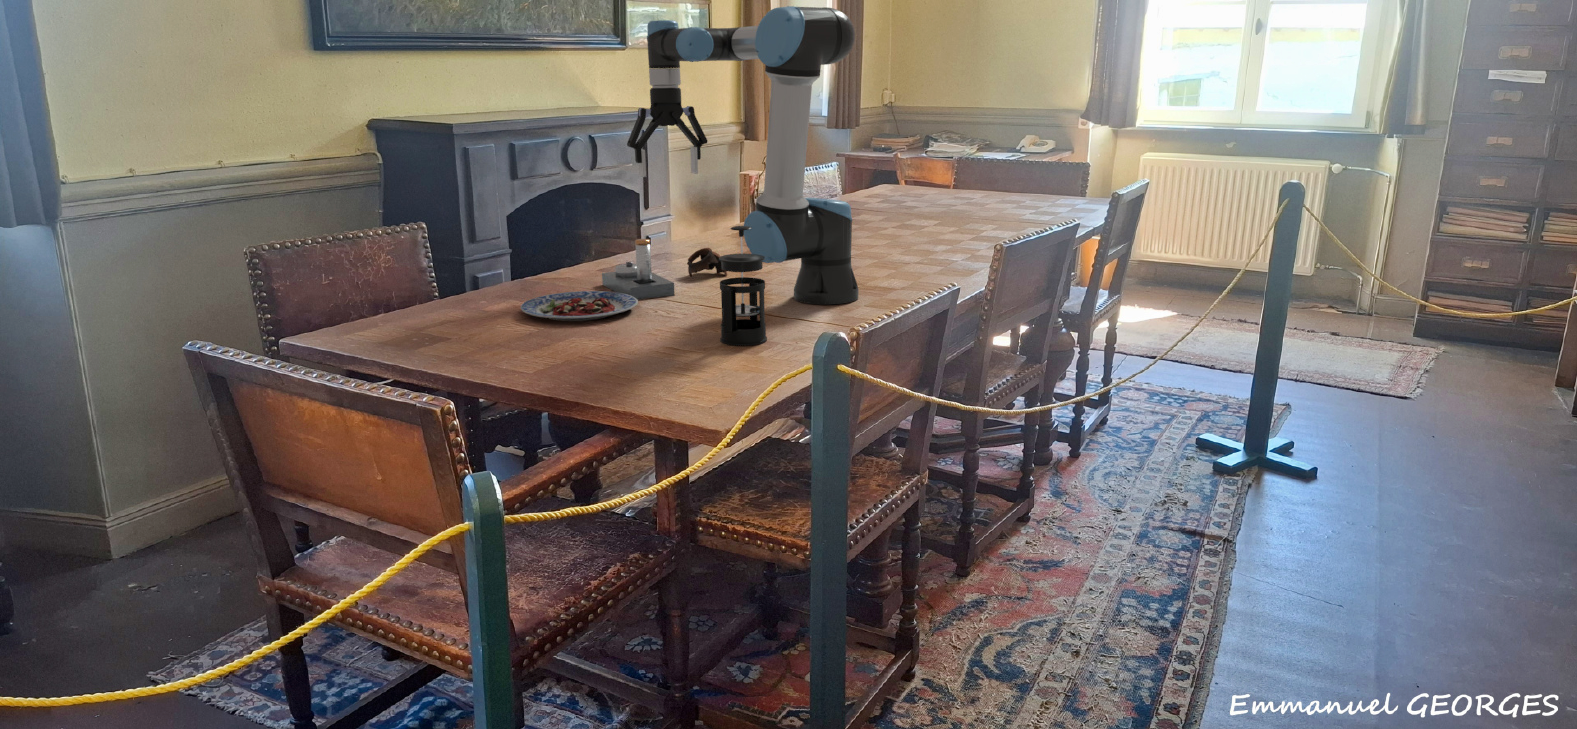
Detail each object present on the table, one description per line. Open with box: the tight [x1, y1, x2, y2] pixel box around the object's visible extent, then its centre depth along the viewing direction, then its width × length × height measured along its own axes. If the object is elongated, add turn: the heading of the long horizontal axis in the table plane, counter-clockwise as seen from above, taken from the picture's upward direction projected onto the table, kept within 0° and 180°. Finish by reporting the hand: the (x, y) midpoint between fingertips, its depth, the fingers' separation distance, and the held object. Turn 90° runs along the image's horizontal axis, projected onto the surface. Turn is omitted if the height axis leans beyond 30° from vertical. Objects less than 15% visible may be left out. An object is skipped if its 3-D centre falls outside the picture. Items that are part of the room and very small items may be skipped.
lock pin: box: [634, 238, 653, 284], centre depth 258 cm, size 4×4×13 cm
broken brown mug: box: [686, 247, 728, 277], centre depth 280 cm, size 12×10×8 cm
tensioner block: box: [601, 261, 675, 301], centre depth 263 cm, size 20×11×6 cm, turn 28°
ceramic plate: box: [520, 290, 639, 322], centre depth 242 cm, size 26×26×3 cm
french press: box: [719, 225, 768, 347], centre depth 214 cm, size 12×9×23 cm
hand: (669, 174), depth 270 cm, fingers open, 13 cm apart
